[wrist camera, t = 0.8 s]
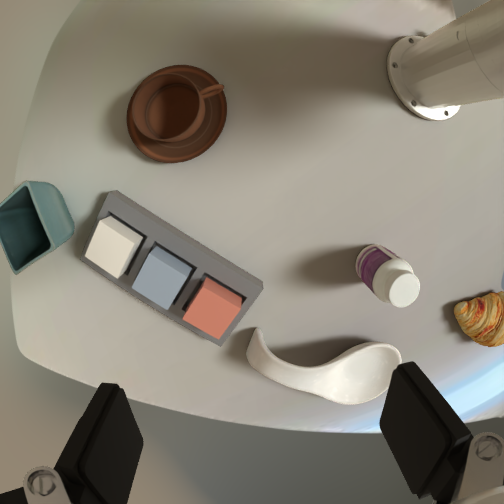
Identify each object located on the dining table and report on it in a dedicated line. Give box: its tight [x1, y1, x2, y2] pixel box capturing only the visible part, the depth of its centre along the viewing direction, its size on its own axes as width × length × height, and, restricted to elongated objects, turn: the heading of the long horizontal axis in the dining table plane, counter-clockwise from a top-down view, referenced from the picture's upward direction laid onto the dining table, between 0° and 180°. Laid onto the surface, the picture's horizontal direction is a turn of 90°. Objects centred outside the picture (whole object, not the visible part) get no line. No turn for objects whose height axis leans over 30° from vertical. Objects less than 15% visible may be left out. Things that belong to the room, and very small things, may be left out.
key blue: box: [132, 246, 192, 310], centre depth 35 cm, size 5×5×3 cm
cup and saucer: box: [127, 65, 227, 163], centre depth 30 cm, size 12×12×6 cm
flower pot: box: [0, 181, 74, 275], centre depth 32 cm, size 9×9×9 cm
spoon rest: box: [246, 328, 401, 405], centre depth 39 cm, size 24×12×7 cm, turn 74°
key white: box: [85, 216, 143, 279], centre depth 34 cm, size 5×5×3 cm
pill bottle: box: [355, 244, 420, 307], centre depth 34 cm, size 5×5×10 cm
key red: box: [182, 277, 242, 340], centre depth 36 cm, size 5×5×3 cm
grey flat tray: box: [80, 190, 263, 347], centre depth 37 cm, size 10×22×2 cm, turn 57°
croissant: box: [454, 291, 504, 347], centre depth 39 cm, size 21×10×8 cm, turn 76°
